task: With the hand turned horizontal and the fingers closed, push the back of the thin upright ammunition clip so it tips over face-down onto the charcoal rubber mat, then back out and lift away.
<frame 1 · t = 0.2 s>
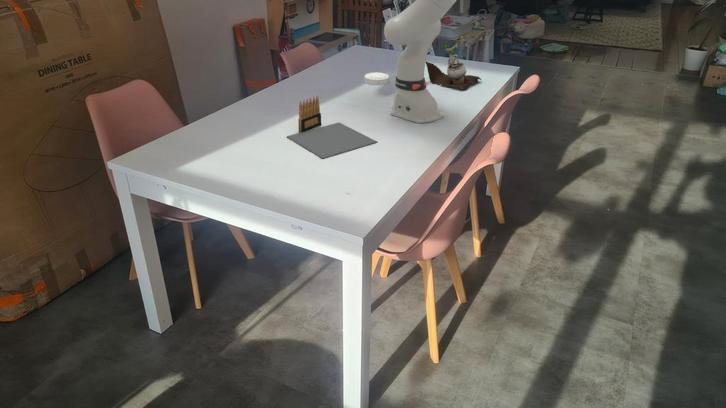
ammunition clip: (310, 128, 204), on the table
potted plant: (453, 83, 257), on the table
slate mat: (331, 139, 194), on the table
mooncake: (376, 82, 258), on the table
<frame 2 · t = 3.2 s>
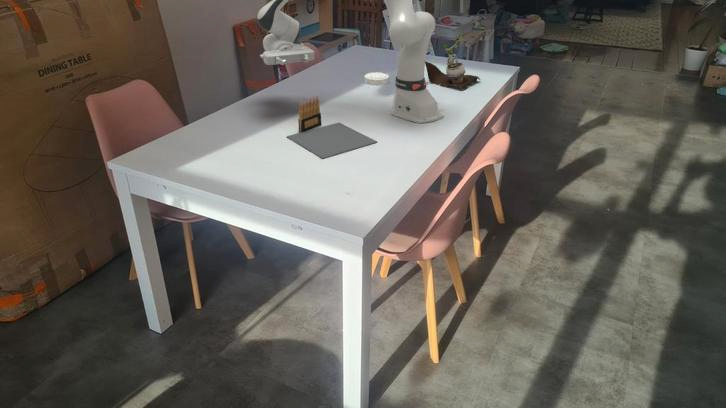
hand: (295, 61, 203), 23 cm above the table, tool horizontal, fingers open, 8 cm apart
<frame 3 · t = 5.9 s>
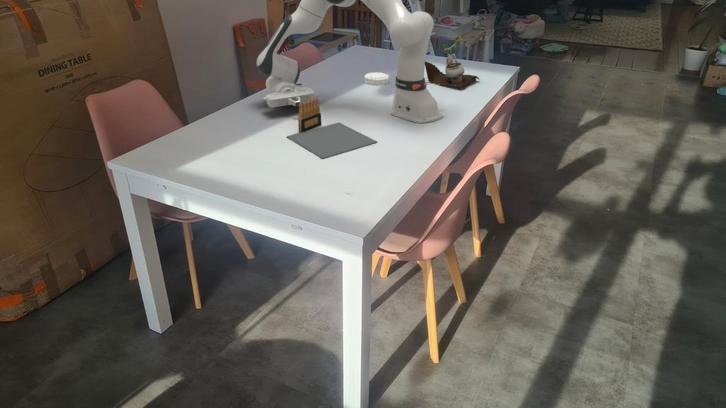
hand: (297, 103, 211), 6 cm above the table, tool horizontal, fingers closed
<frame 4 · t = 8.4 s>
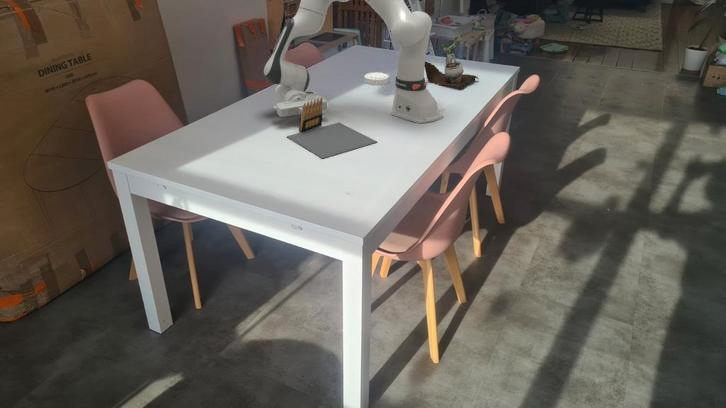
hand: (309, 113, 202), 6 cm above the table, tool horizontal, fingers closed
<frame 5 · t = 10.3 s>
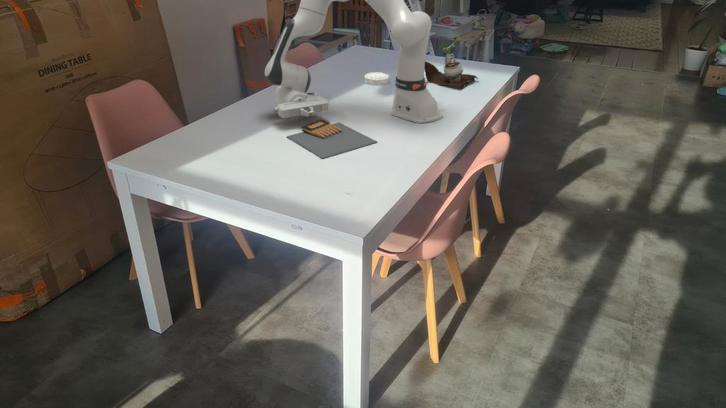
hand: (310, 114, 200), 6 cm above the table, tool horizontal, fingers closed
ammunition clip: (311, 124, 203), point 2 cm above the table, touching slate mat
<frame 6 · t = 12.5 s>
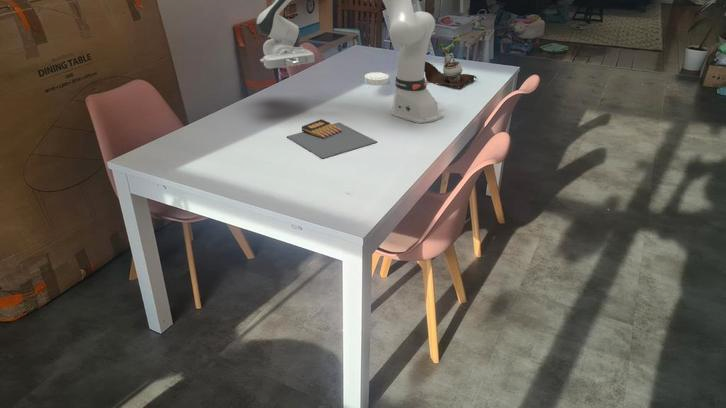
hand: (295, 64, 203), 22 cm above the table, tool horizontal, fingers closed
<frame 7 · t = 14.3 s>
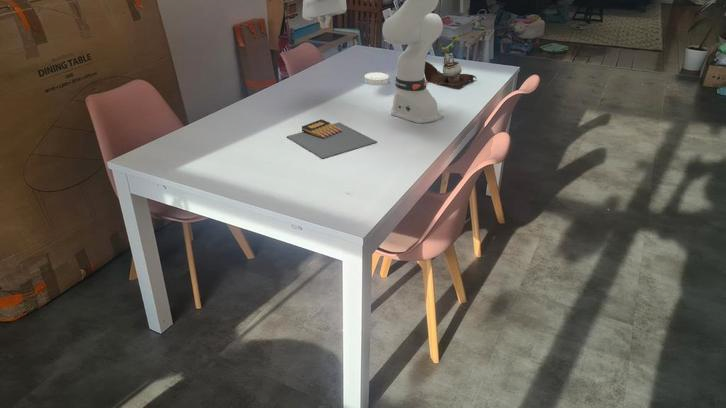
hand: (324, 27, 216), 31 cm above the table, tool tilted 25°, fingers closed
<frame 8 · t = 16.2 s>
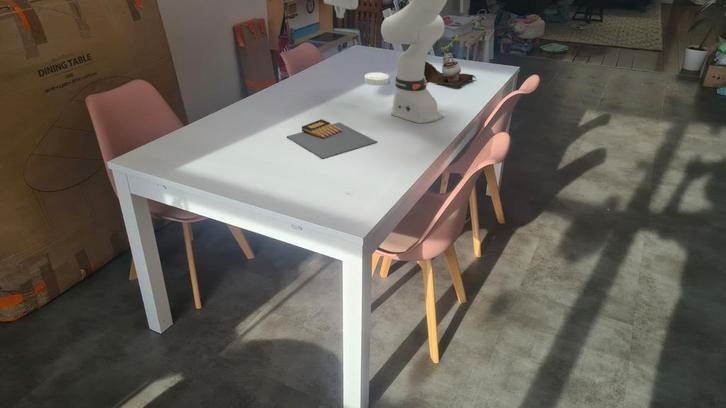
hand: (340, 17, 221), 34 cm above the table, tool pointing down, fingers closed
at the end: ammunition clip tilted 92°; ammunition clip touching slate mat; ammunition clip inside the target area (1.3 cm from its centre), point 1.5 cm above the table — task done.
